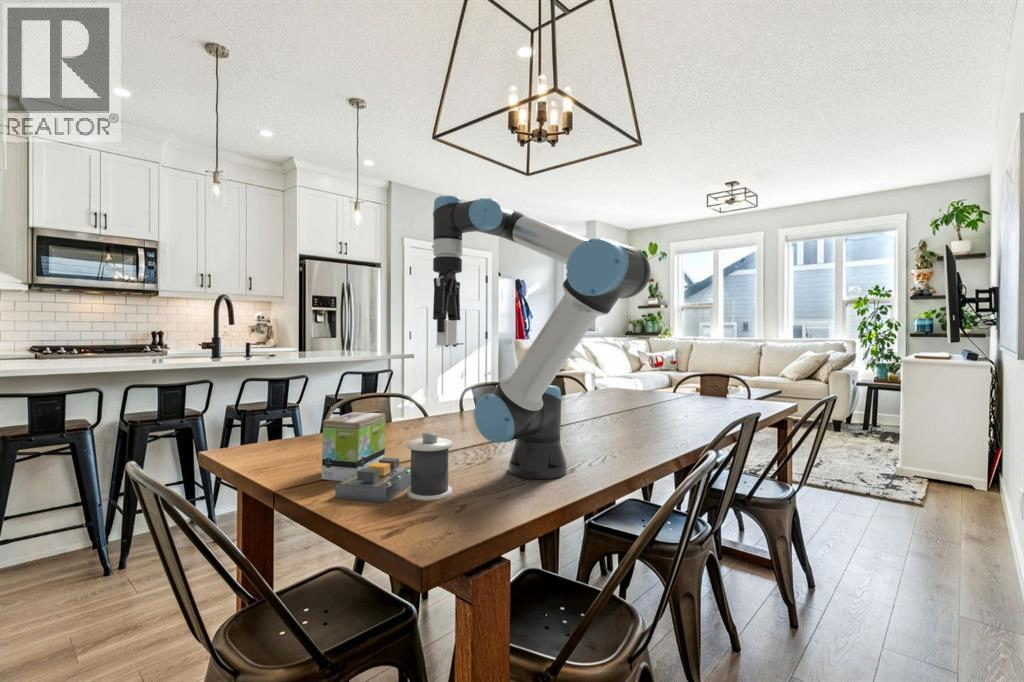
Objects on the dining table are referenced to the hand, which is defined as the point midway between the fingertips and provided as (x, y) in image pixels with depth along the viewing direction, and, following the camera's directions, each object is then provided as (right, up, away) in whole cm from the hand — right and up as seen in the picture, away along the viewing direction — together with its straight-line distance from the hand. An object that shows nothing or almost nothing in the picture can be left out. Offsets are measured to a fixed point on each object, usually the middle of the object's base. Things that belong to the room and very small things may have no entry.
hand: (447, 344), depth 136 cm
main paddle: (-14, -29, -17) cm, 36 cm away
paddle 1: (-15, -29, -21) cm, 39 cm away
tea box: (-23, -33, -4) cm, 41 cm away
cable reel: (-2, -33, -19) cm, 39 cm away
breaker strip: (-14, -33, -16) cm, 40 cm away
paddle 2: (-13, -29, -12) cm, 33 cm away
